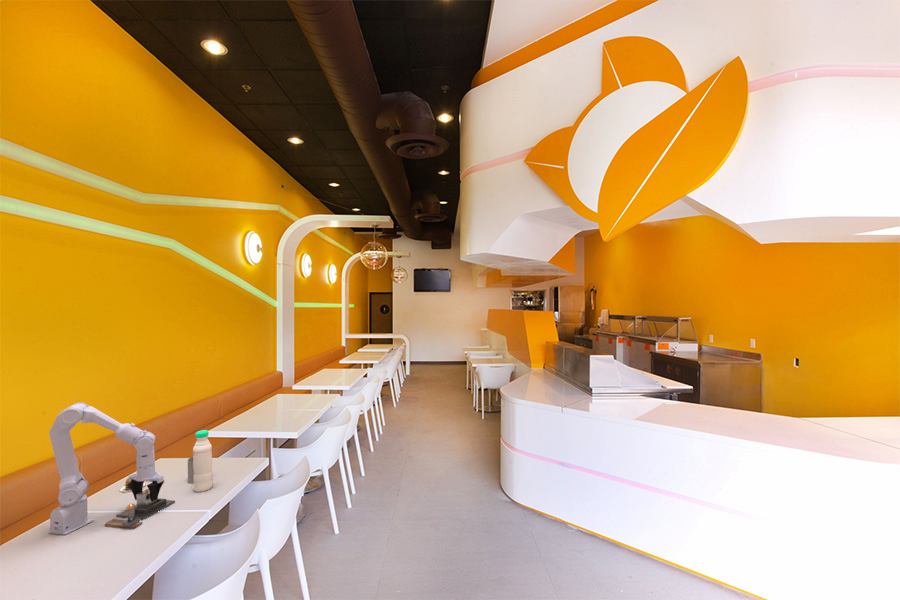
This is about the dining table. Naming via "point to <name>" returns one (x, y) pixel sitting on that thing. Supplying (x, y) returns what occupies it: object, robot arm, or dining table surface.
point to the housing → (144, 499)
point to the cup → (190, 471)
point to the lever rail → (118, 524)
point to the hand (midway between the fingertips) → (146, 499)
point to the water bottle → (202, 462)
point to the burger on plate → (127, 486)
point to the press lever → (130, 516)
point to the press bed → (148, 509)
